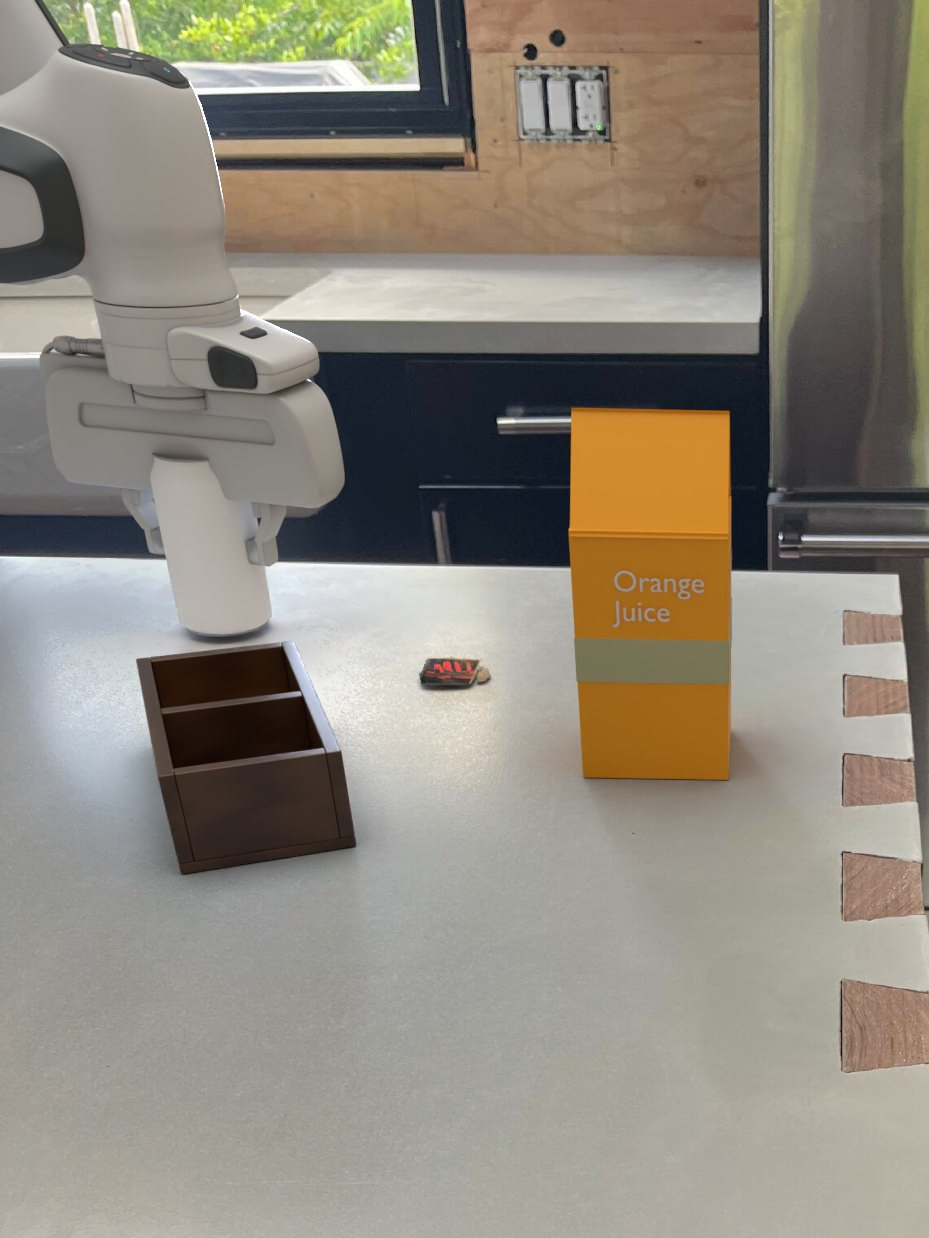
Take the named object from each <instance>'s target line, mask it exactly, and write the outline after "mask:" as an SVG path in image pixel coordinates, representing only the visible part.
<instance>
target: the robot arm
mask: <svg viewBox="0 0 929 1238" xmlns="http://www.w3.org/2000/svg"><path fill="white" fill-rule="evenodd" d="M226 226H227V218H226V209H225V202H224V197H223V192H222V186H221V181H220V175H219V170H218V166H217V162H216V157H215V152H214V147H213V143H212V138H211V135H210V131H209V127H208V124H207V120H206V117H205V114H204V111H203V107H202V104H201V102H200V100H199V97H198V95H197V92H196V90H195V88H194V87H193V85H192V83H191V81H190V80H189V79H188V78H187V76H186V75H185V74H183V72H182V71H180V69H178V68H177V67H175V66H174V65H172V64H170V63H169V62H168V61H166V60H164V59H162V58H159V57H156V56H153V55H150V54H147V53H144V52H141V51H137V50H133V49H128V48H124V47H118V46H117V47H113V46H108V45H107V46H106V45H104V44H97V43H70V41H69V39H68V38H67V37H66V35H65V33H64V32H63V30H62V29H61V27H60V26H59V24H58V22H57V21H56V19H55V17H54V16H53V15H52V13H51V11H50V10H49V8H48V6H47V5H46V3H45V1H44V0H0V284H5V285H10V286H30V285H36V284H39V283H40V284H41V283H44V282H48V281H52V280H59V279H60V280H61V279H66V278H69V277H73V276H78V277H80V278H82V279H83V280H84V281H85V282H86V283H87V285H88V287H89V290H90V293H91V297H92V301H93V307H94V310H95V315H96V320H97V325H98V330H99V334H100V338H98V337H97V338H96V337H91V338H90V337H89V338H80V337H79V338H77V337H75V336H71V335H57V336H54V338H53V339H52V341H51V342H48V343H47V344H45V345H44V347H43V349H42V351H41V353H40V354H39V361H38V362H39V368H40V372H41V375H42V382H43V385H44V389H45V403H46V416H47V425H48V430H49V431H48V432H49V440H50V441H49V442H50V446H51V451H52V458H53V462H54V465H55V467H56V468H57V470H58V471H59V472H60V474H61V475H62V476H63V477H64V478H65V479H66V480H67V481H68V482H69V483H72V484H79V485H80V484H81V485H89V486H100V487H108V488H119V491H120V495H121V499H122V504H123V505H124V506H125V508H126V509H127V511H128V512H129V513H130V515H131V516H132V517H133V518H134V520H135V521H136V523H137V524H138V525H139V527H140V528H141V529H142V530H143V532H144V535H145V540H146V545H147V550H148V552H149V553H150V554H154V555H165V551H164V546H163V542H162V537H161V532H160V527H159V522H158V517H157V512H156V507H155V502H154V496H153V491H152V486H151V480H150V474H151V470H152V467H153V464H154V456H153V455H152V453H154V454H156V455H157V456H160V457H164V458H170V459H185V460H191V459H207V458H208V459H210V461H208V463H209V466H210V468H211V470H212V471H213V473H214V475H215V476H216V478H217V479H218V481H219V483H220V486H221V490H222V492H223V495H224V497H225V498H226V499H229V500H239V501H248V502H251V507H252V512H253V516H254V517H255V518H257V519H260V522H259V523H258V530H257V533H256V535H255V536H254V537H252V538H250V539H248V540H245V546H246V552H247V553H248V554H247V558H248V561H249V563H250V564H252V565H259V566H265V567H268V568H269V567H271V566H273V565H275V564H276V563H278V561H279V550H278V543H277V537H276V536H278V533H279V532H280V529H281V526H282V525H283V522H284V519H285V517H286V514H287V511H288V509H287V507H296V508H303V509H305V508H306V509H318V508H320V507H322V506H325V505H327V504H329V503H330V502H331V501H333V500H335V499H336V498H337V497H338V496H339V494H340V493H341V491H342V490H343V488H344V486H345V480H346V479H345V476H346V475H345V467H344V466H345V465H344V460H343V453H342V447H341V442H340V437H339V433H338V428H337V423H336V420H335V416H334V412H333V408H332V406H331V403H330V401H329V398H328V397H327V395H326V393H325V392H324V390H323V389H322V388H321V387H320V386H318V384H316V383H315V382H313V381H312V380H310V379H311V378H313V377H314V376H316V375H317V374H318V373H319V371H320V357H319V353H318V349H317V347H316V346H315V344H314V343H313V342H311V341H309V340H308V339H305V338H304V337H301V336H299V335H297V334H294V333H292V332H290V331H288V330H286V329H283V328H280V327H279V326H276V325H274V324H272V323H270V322H268V321H265V320H263V319H262V318H259V317H258V316H256V315H254V314H252V313H249V312H248V311H245V310H243V309H242V308H241V302H240V297H239V290H238V286H237V283H236V281H235V278H234V276H233V274H232V272H231V270H230V267H229V264H228V260H227V256H226V255H227V254H226V249H225V237H226V228H227V227H226ZM52 350H54V351H52Z"/></svg>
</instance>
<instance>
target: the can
mask: <svg viewBox="0 0 929 1238" xmlns="http://www.w3.org/2000/svg"><path fill="white" fill-rule="evenodd" d="M152 455H153V456H154V464H153V467H152V470H151V474H150V480H151V486H152V491H153V496H154V498H153V502H154V504H155V507H156V512H157V517H158V522H159V527H160V532H161V537H162V542H163V546H164V551H165V554H164V556H165V561H166V565H167V570H168V575H169V580H170V586H171V590H172V594H173V595H172V596H173V599H174V603H175V610H176V614H177V618H178V622H179V624H180V625H181V626H182V627H184V629H186V631H188V632H190V633H192V634H195V635H199V636H205V637H233V636H240V635H246V634H249V633H253V632H257V631H259V630H261V629H263V628H264V627H266V626H267V625H268V623H269V622H270V619H271V618H272V616H273V609H272V601H271V595H270V589H269V584H268V577H267V572H266V571H267V570H266V566H259V565H252V564H250V563H249V561H248V558H247V554H248V553H247V552H246V546H245V540H248V539H250V538H252V537H254V536H255V535H256V533H257V530H258V527H259V521H258V518H255V517H254V516H253V512H252V507H251V502H248V501H239V500H229V499H226V498H225V497H224V495H223V492H222V490H221V486H220V483H219V481H218V479H217V478H216V476H215V475H214V473H213V471H212V470H211V468H210V466H209V463H208V461H210V459H208V458H207V459H191V460H185V459H170V458H164V457H160V456H157V455H156V454H154V453H152Z"/></svg>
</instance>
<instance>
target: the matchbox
mask: <svg viewBox="0 0 929 1238" xmlns="http://www.w3.org/2000/svg"><path fill="white" fill-rule="evenodd" d="M482 663H483V659H482V658H481V659H479V658H469V657H468V658H465V657H463V658H460V657H459V658H458V657H454V656H452V655H451V656H449V657H427V658H426V659H425V663H423V667H422V670H421V671H420V672H419V673H418V676H419V681H420V684H421V685H422V684H423V685H424V684H426V685H433V686H434V685H440V686H462V685H471V684H472V683H474V681H473V680H475V677H476V681H475V683H482V682H487V681H489V679H491V673H490V670H489V668H483V670H479V669H481V664H482Z"/></svg>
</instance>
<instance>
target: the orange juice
mask: <svg viewBox="0 0 929 1238" xmlns="http://www.w3.org/2000/svg"><path fill="white" fill-rule="evenodd" d="M570 409H571V411H570V412H571V413H570V414H571V415H570V416H571V417H570V418H571V420H570V421H571V422H570V432H571V433H570V435H571V436H570V487H569V488H570V491H569V494H570V495H569V497H570V500H569V501H570V502H569V528H568V547H569V562H570V564H569V565H570V580H571V594H572V595H571V596H572V597H571V598H572V613H573V631H574V632H573V633H574V637H573V643H574V644H573V645H574V659H575V660H574V661H575V679H576V683H577V697H578V711H579V712H578V713H579V714H578V715H579V730H580V731H579V732H580V747H581V763H582V764H581V765H582V778H589V779H590V778H591V779H593V778H595V779H596V778H597V779H647V780H648V779H651V780H652V779H653V780H657V779H658V780H659V779H660V780H709V781H713V780H714V781H715V780H717V781H729V776H730V775H729V774H730V772H729V771H730V754H731V735H732V643H733V642H732V641H733V629H732V628H733V597H732V569H733V567H732V564H733V563H732V561H733V555H732V486H731V485H732V484H731V483H732V482H731V481H732V480H731V476H732V475H731V427H730V426H731V419H730V417H731V416H730V415H731V412H730V410H708V409H707V410H706V409H705V410H704V409H703V410H702V409H701V410H700V409H697V410H696V409H659V408H658V409H655V408H654V409H653V408H614V407H613V408H610V407H609V408H608V407H570Z"/></svg>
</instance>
